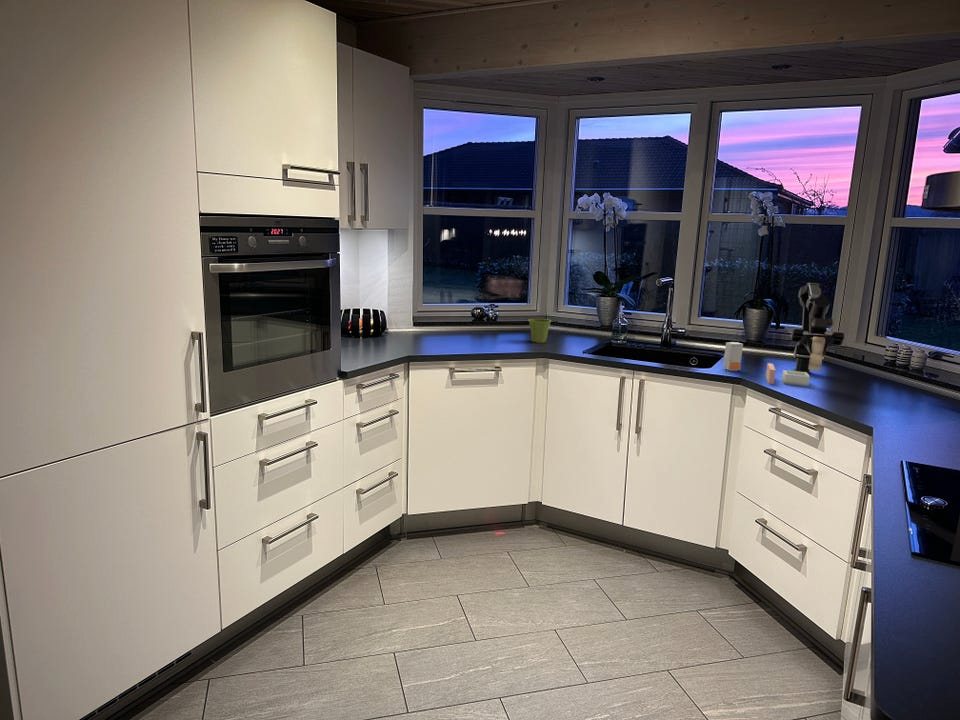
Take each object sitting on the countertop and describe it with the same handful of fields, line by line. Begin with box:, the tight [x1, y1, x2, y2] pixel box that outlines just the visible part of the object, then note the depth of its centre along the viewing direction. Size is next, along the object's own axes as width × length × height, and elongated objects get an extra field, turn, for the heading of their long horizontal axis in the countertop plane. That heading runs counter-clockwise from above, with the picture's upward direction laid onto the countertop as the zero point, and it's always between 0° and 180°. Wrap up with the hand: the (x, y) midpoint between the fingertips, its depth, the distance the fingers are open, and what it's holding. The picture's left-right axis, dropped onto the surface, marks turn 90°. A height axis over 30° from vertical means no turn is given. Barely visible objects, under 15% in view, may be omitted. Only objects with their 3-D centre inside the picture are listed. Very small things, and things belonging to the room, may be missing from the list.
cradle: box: [781, 369, 811, 387], centre depth 275 cm, size 9×9×4 cm
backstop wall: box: [765, 362, 777, 385], centre depth 278 cm, size 14×2×6 cm, turn 161°
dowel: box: [808, 337, 825, 372], centre depth 269 cm, size 4×4×13 cm
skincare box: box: [722, 341, 744, 371], centre depth 296 cm, size 6×4×12 cm
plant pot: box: [527, 318, 552, 344], centre depth 346 cm, size 12×12×11 cm
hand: (817, 353), depth 268 cm, fingers closed on dowel, 4 cm apart
